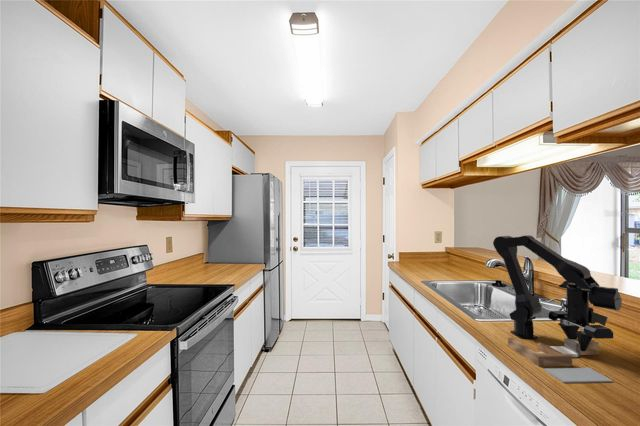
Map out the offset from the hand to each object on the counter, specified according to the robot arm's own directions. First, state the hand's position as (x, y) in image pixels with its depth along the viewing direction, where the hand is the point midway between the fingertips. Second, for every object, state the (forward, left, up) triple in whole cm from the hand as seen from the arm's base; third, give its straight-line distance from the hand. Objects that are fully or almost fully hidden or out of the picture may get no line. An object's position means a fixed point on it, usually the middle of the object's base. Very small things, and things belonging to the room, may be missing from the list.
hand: (578, 348), depth 100 cm
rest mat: (+14, -13, -1) cm, 19 cm away
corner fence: (+1, -15, -1) cm, 15 cm away
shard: (0, -12, -2) cm, 12 cm away
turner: (0, -2, -1) cm, 2 cm away
